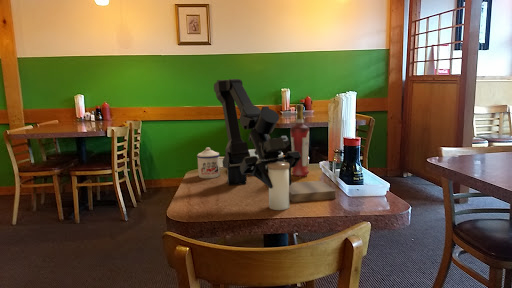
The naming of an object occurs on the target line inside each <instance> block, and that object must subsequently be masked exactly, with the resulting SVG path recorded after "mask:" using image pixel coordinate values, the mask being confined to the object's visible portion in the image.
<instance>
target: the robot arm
mask: <svg viewBox="0 0 512 288" xmlns="http://www.w3.org/2000/svg"><path fill="white" fill-rule="evenodd" d="M213 91H214V93H215V97H216V99H217V100H218V102H220V104H221V105H222V112H223V117H224V123H225V130H226V134H227V139H228V140H227V141H228V142H227V144H226V147H225V154H224V156H223V157H224V159H222V167H225V168H224V169H226V170H227V175H226V176H227V179H226V182H227V185H228V186H235V185H236V186H237V185H238V186H239V185H246V184H247V181H248V178H247V177H248V176H247V175H250V176H253V177H255V178H257V179H258V180H260V182H261V183H263V184H264V185H265V186H266V187H268V189H269V188H270V189H271V188H272V187H273V186H272V183H271V180H270V178H269V176H268V172H267V171H268V170H266V168H265V166H268V165H267V164H268V163H270V162H288V163H289V166H290V167H289V185H291V184H292V183H293V182H292V169H293V167H295V166H296V165H297V163H298V162H299V160H300V159H301V155H300V153H299V152H298V151H292V150H291V151H286V153H285V154H284V155H283V157H280V158H279V155H280V154H281V152H282V151H283V150H284V149H286V148H287V147H288V146H290V140H289V138H288V137H287V135H281V136H280V137H276V138H271V136H270V134H272V133H273V131H274V130H275V128H276V126H277V123H278V122H279V119H280V116H279V113H277V112H276V110H273V109H271V108H269V106H268V105H267V106H262V107H261V109H260V108H259V107H258V106H256V105H254V103H253V102H252V101H251V99H250V96H249V94H248V93H247V91H246V90H245V87H244V85H243V81H242V79H240V78H229V79H217V80H216V81H215V82H214V84H213ZM237 109H238V110H239V113H240V115H239V120H238V113H237ZM239 122H240V123H239ZM239 124H240V125H239ZM240 126H241V127H242V128H243V130H250V132H249V135H248V141H249V142H252V145H253V147H254V149H255V152H254V153H255V155H258V157H259V159H258V158H257V156H250V153H249V151H248V150H249V147H248V146H249V145H248V143H247V141H245V140H243V139H242V137H241V131H240V130H241V129H240Z"/></svg>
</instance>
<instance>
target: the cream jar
mask: <svg viewBox="0 0 512 288" xmlns="http://www.w3.org/2000/svg"><path fill="white" fill-rule="evenodd" d="M267 165H268V169H267V171H268V172H267V174H268V176H269V178H270V180H271V183H272V186H273V187H272V188H271V189H270V188H269V187H268V208H269V209H271V210H275V211H284V210H288V209H289V208H290V199H289V167H290V166H289V163H288V162H270V163H268V164H267Z"/></svg>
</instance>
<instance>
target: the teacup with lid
mask: <svg viewBox="0 0 512 288" xmlns="http://www.w3.org/2000/svg"><path fill="white" fill-rule="evenodd" d="M196 157H197V169H198V174H197V175H198V177H199V178H201V179H214V178H218V177H220V175H221V170H223V169H226V168H225V167H223V166H222V167H221V166H220V160H223V159H224V156H223V157H222V156H221V155H220V152H218V151H214V150H213V149H211V147H205V149H204V150H203V151H201V152H198V154H197V155H196Z"/></svg>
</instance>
